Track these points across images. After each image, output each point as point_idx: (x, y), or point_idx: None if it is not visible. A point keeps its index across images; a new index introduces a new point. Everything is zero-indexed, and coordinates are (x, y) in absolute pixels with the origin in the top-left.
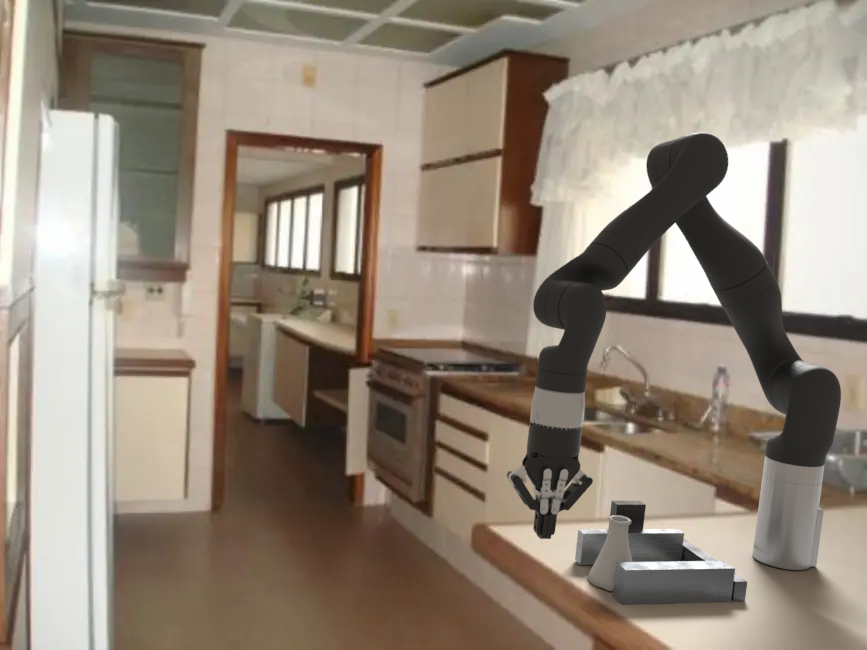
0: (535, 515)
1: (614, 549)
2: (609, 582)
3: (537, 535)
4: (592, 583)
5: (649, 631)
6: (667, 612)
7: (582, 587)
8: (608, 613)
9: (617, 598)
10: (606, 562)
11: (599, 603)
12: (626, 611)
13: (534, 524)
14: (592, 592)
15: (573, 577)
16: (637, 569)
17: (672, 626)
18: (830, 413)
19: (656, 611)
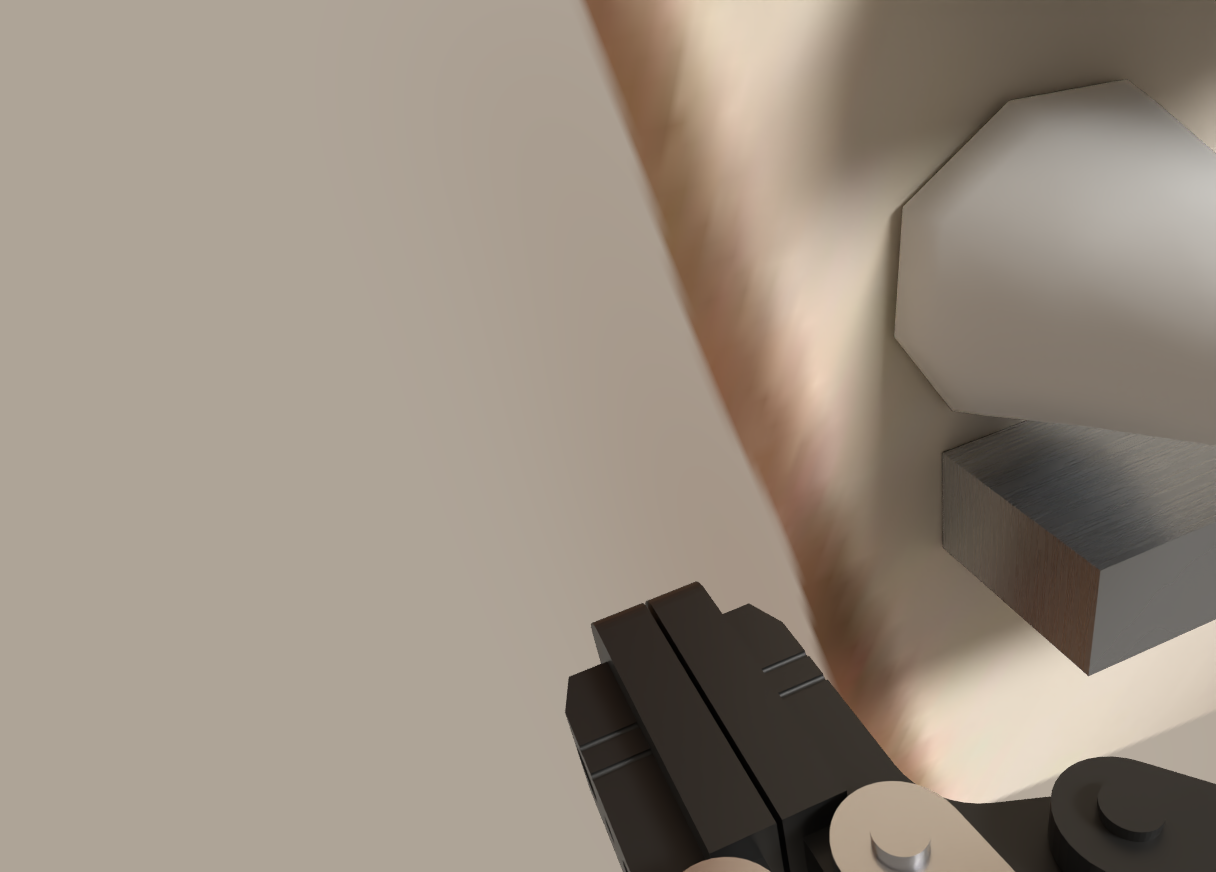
0: (628, 867)
1: (1201, 439)
2: (986, 410)
3: (596, 641)
4: (895, 323)
5: (937, 760)
6: None
7: (813, 375)
8: (835, 666)
9: (949, 507)
10: (1071, 391)
11: (833, 570)
12: (929, 614)
13: (586, 769)
14: (848, 435)
15: (808, 205)
16: (1162, 639)
17: (1050, 683)
18: None
19: None
